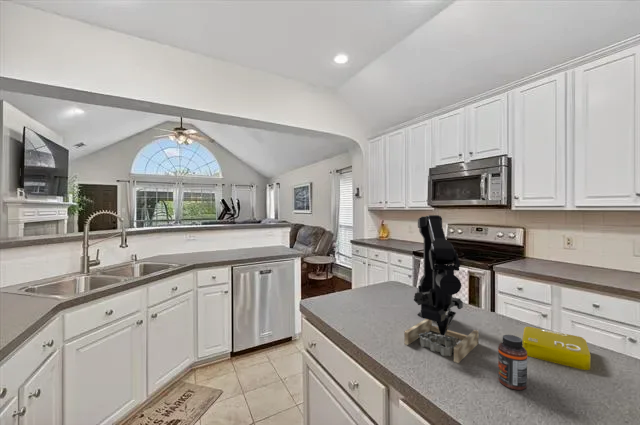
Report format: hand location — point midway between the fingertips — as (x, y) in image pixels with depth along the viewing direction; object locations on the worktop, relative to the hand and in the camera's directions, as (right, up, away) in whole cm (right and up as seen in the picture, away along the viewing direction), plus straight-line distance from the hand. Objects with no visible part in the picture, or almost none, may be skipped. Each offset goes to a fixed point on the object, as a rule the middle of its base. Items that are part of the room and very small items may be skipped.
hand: (442, 334), depth 93 cm
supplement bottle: (+8, -3, -22) cm, 23 cm away
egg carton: (-3, -3, -3) cm, 5 cm away
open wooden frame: (-1, -3, 0) cm, 3 cm away
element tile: (+31, -3, -6) cm, 31 cm away
